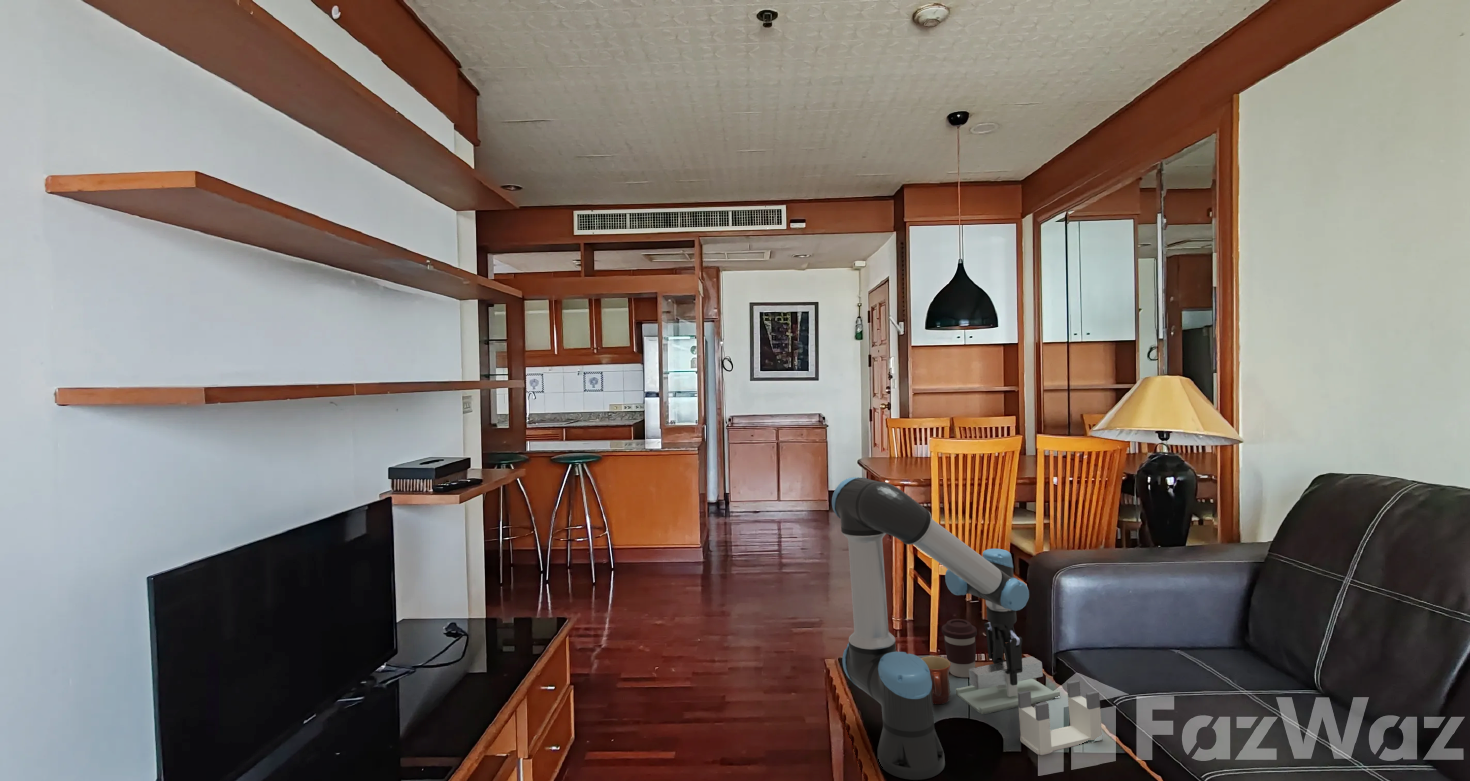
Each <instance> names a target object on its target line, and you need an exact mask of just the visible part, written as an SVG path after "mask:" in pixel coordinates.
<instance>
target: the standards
mask: <svg viewBox="0 0 1470 781" xmlns="http://www.w3.org/2000/svg"><path fill="white" fill-rule="evenodd" d="M1080 685H1081V682H1080V680H1078V679H1076V680H1072V681H1066V686H1067V687H1066V689H1067V701H1068V702H1067V703H1068V714H1069V715H1068V716H1069V726H1068V725H1067V726H1063V727H1059V728H1055V729H1054V728H1053V729H1051V722H1050V721H1051V720H1050V704H1049V703H1048V702H1047V701H1043V702H1038V703H1034V704H1035V705H1034V707H1033V706H1032V705H1033V704H1031V692H1030V691H1023V692H1018V706H1019V707H1018V719H1019V730H1020V731H1019V732H1020V733H1019V734H1020V738H1019V740H1020V742H1021V744H1023V745H1025V746H1026V747H1027V748H1028V749H1030V750H1031V751H1032V752H1034V753H1035V754H1036V755H1040V756H1044V755H1048V754H1052V753H1053V752H1054V751H1058V750H1059V751H1060V750H1063V749H1067V748H1072V747H1075V746H1080V745H1083V744H1082V743H1084V742H1086V741H1088V740H1094V739H1096V738H1097V737H1099V736H1101V735H1102V736H1103V731H1102V715H1101V714H1102V712H1101V703H1100V702H1101V701H1100V692H1099V691H1098V690H1095V691H1090V692H1086V693H1085V697H1084V696H1083V695H1082V694H1081V686H1080ZM1079 744H1080V745H1079ZM1084 744H1085V743H1084Z"/></svg>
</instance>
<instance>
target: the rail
mask: <svg viewBox="0 0 1470 781" xmlns="http://www.w3.org/2000/svg"><path fill="white" fill-rule="evenodd" d="M1005 671H1008V670H1007V665H1006V661H1005V662H1001V663H996V664H994V663H991V664H987V665H982V666H975V668H971V669H969V677H968V678H969V685H970V686H972V685H973V686H974V687H976V688H977V689H978V690H980V689H985V688H989V687H994V686H999V685H1004V684H1006V672H1005ZM1043 673H1044V672H1043V662H1042V661H1041V660H1039V659H1038V658H1035V657H1034V656H1026V657H1022V672H1021V673H1017V682H1018V681H1023V680H1028V679H1036V678H1041V677H1044V674H1043Z"/></svg>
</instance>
